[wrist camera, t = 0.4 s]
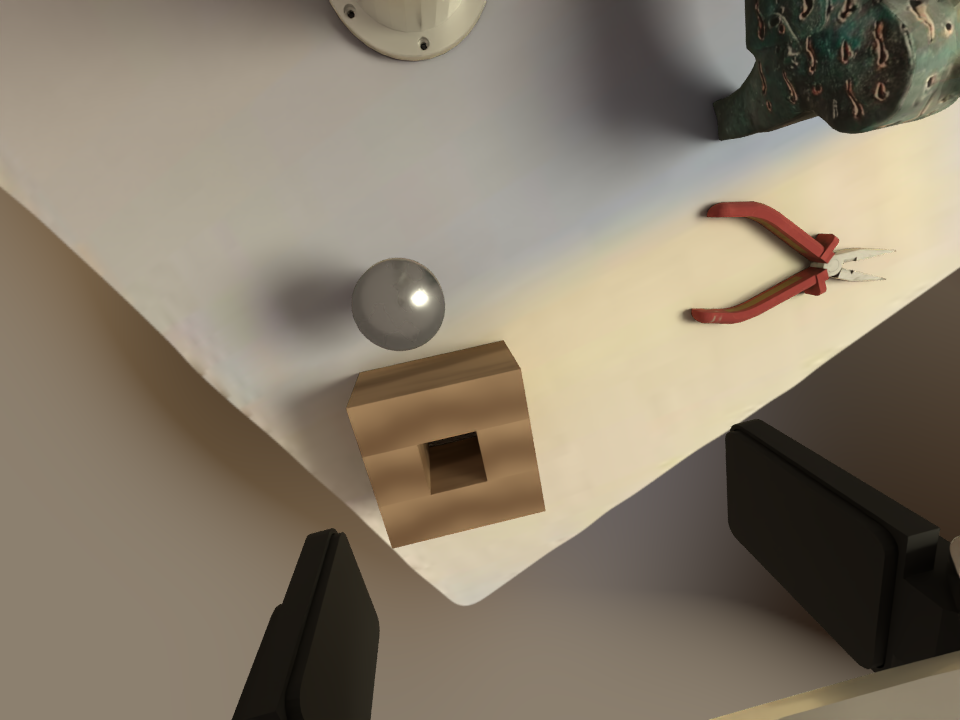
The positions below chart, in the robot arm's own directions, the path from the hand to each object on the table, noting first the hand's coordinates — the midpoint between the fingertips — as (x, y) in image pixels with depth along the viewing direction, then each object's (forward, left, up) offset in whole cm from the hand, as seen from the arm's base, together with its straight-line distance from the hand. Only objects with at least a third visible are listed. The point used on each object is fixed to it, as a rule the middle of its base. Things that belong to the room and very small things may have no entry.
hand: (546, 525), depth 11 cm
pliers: (+6, +32, -33) cm, 46 cm away
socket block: (+13, -3, -32) cm, 35 cm away
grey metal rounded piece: (-1, -4, -32) cm, 32 cm away
